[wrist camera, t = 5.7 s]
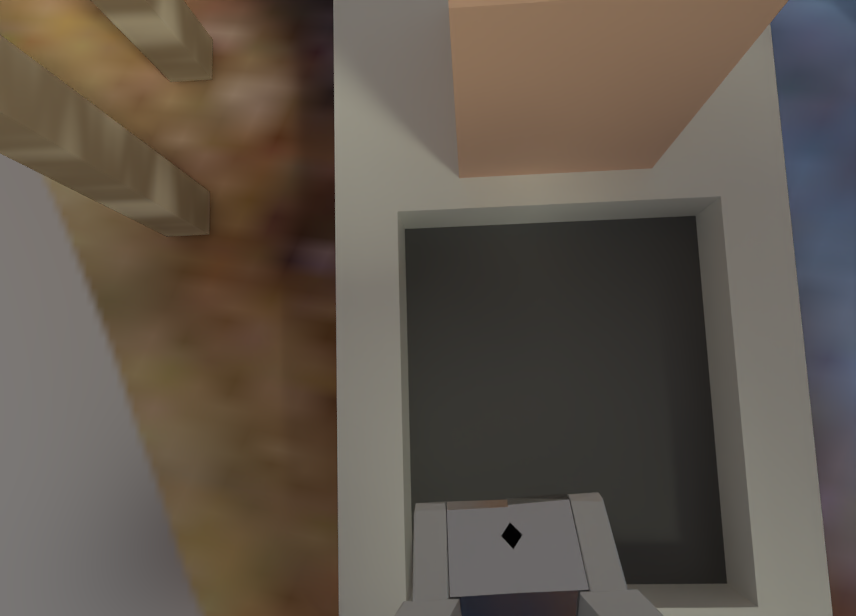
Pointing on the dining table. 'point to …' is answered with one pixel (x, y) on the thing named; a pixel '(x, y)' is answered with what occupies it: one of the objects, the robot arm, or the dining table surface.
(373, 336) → the tray
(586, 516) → the robot arm
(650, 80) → the block
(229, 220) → the dining table surface
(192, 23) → the arch
